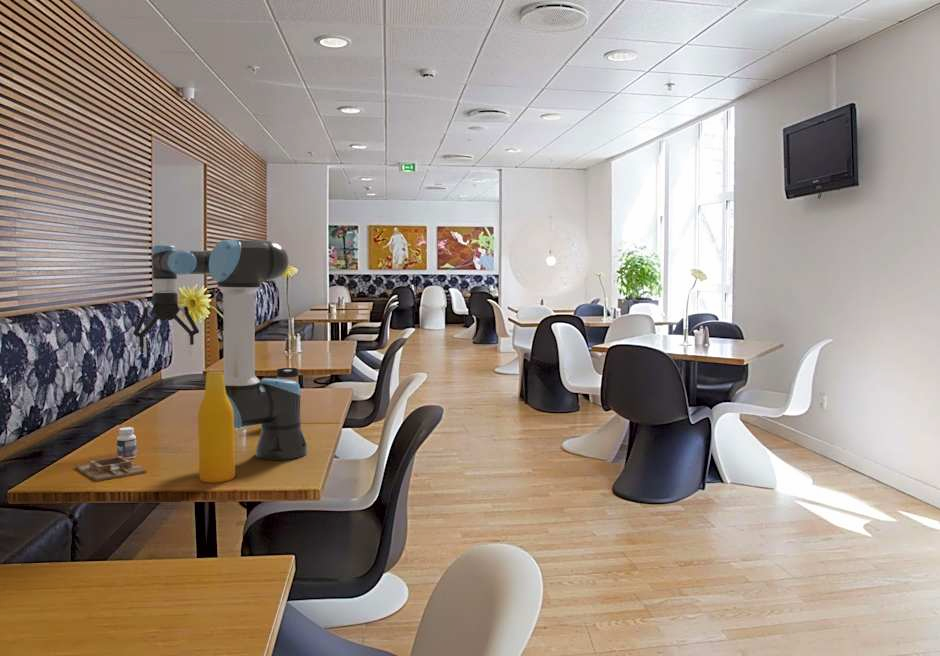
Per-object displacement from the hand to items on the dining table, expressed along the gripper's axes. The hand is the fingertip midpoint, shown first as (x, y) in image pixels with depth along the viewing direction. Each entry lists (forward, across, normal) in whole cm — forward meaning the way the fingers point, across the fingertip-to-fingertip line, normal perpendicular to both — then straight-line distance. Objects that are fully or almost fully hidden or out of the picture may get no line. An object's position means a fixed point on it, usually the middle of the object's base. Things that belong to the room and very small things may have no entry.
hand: (167, 355), depth 253 cm
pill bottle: (+28, +14, +23) cm, 39 cm away
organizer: (+28, +20, +37) cm, 50 cm away
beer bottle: (+28, -6, +59) cm, 66 cm away
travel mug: (+28, -41, -4) cm, 50 cm away
